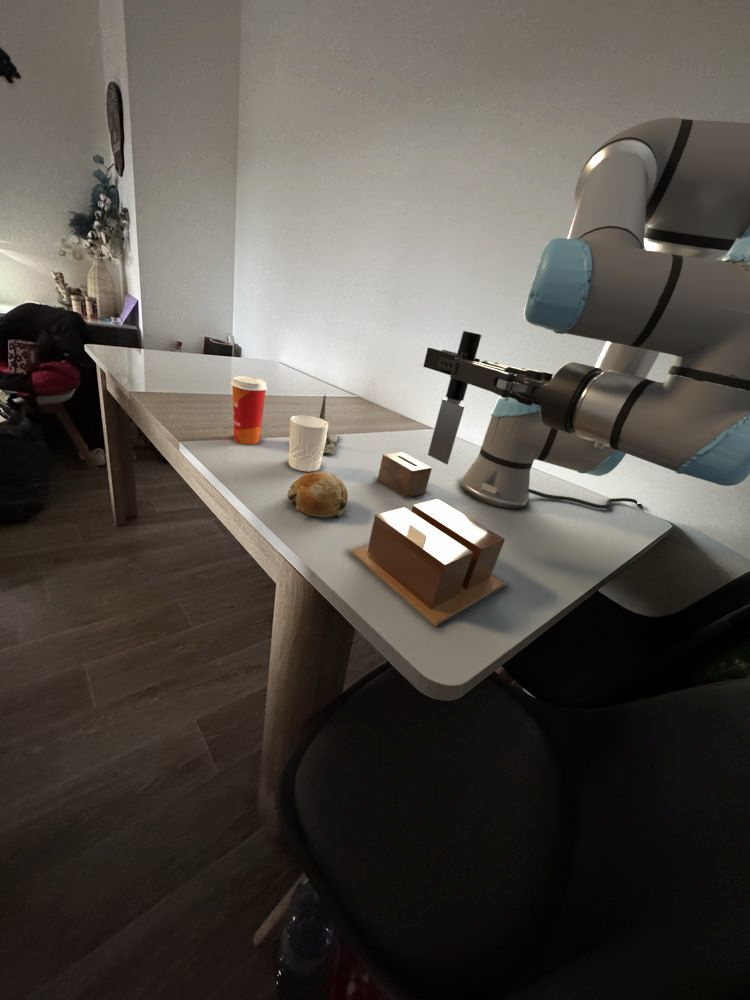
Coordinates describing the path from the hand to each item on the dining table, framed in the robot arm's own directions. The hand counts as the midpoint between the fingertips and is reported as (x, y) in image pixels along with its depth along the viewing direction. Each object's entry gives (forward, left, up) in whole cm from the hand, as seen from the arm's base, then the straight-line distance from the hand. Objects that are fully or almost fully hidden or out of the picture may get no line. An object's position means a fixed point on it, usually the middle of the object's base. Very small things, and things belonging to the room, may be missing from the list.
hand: (434, 358), depth 58 cm
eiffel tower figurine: (+9, -38, -28) cm, 48 cm away
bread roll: (+14, -5, -28) cm, 32 cm away
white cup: (+14, -23, -28) cm, 39 cm away
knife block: (-6, -15, -28) cm, 32 cm away
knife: (-2, +5, -14) cm, 15 cm away
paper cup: (+26, -36, -28) cm, 52 cm away
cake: (0, +14, -28) cm, 32 cm away
